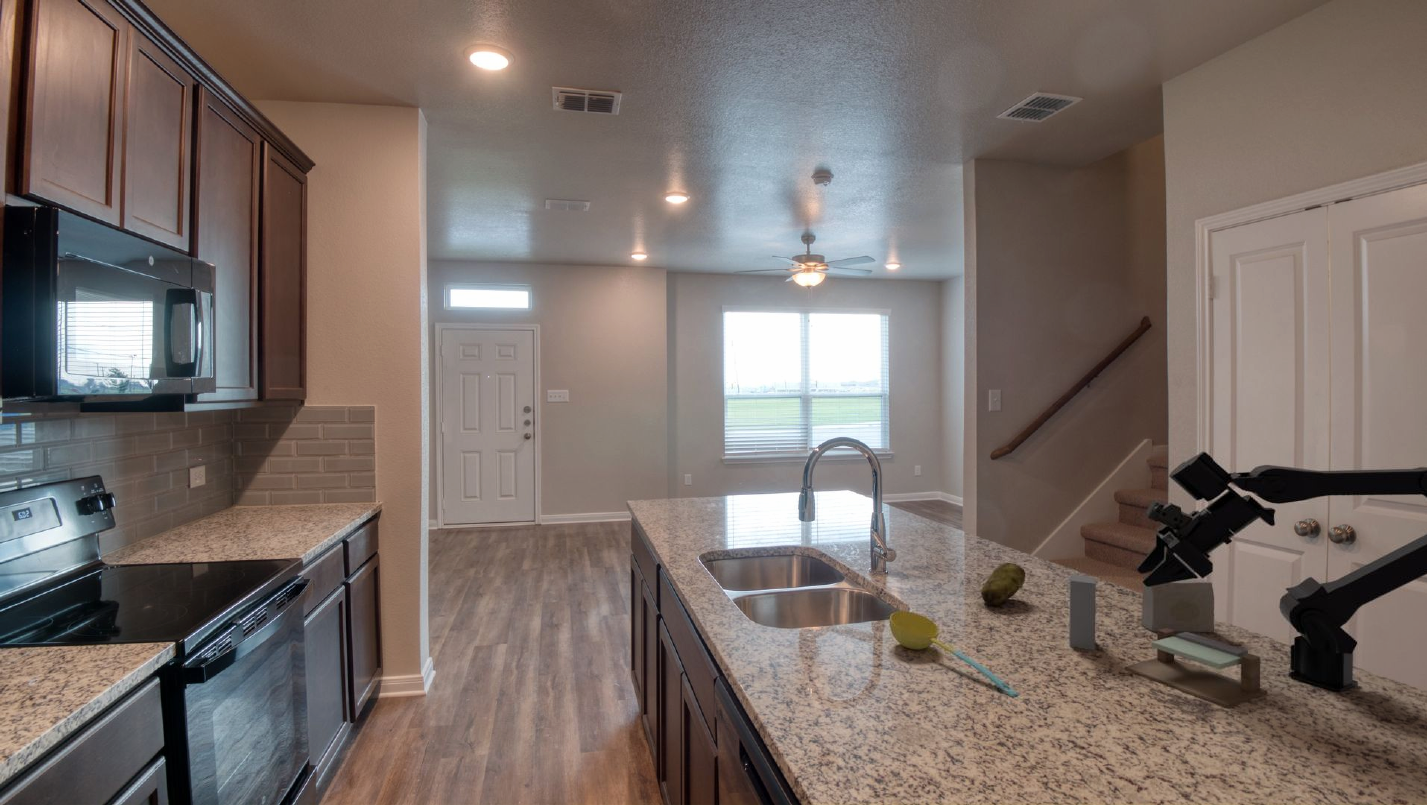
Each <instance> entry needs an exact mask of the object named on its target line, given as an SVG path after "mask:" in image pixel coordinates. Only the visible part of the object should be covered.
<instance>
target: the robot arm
mask: <svg viewBox="0 0 1427 805" xmlns="http://www.w3.org/2000/svg"><path fill="white" fill-rule="evenodd" d="M1168 477H1169V478H1170V479H1171V480H1172V481H1173V482H1174V483H1176V484H1177V485H1178V486H1179V487H1180V488H1182V490H1184V492H1186V493H1187V494H1188V495H1189V496H1191V498H1193V499H1194V500H1195V501H1196V502H1197V501H1201V500H1204V501H1206V502H1211V501H1212V500H1214V501H1213V502H1211V503H1210V504H1208V505H1207V506H1206V507H1205V508H1203V509H1201V510H1200V511H1199V510H1193V511H1191V512H1190V513H1186V512H1183V511H1182V508H1181V507H1180V506H1179V505H1176V504H1174V503H1172V502H1168V503H1167V504H1166V503H1165V502H1162V501H1160V500H1158V499H1155V498H1153V500H1152V501H1151V503H1150V505H1149V507H1148V508H1147V509H1146V512H1145V513H1144V514H1145V515H1146V518H1148V519H1150V520H1152V521H1154V522H1158V523H1161V525H1159V526H1158V527H1156V529H1155V530H1156V532H1154V546H1153V548H1152V549H1151V550H1150V551H1149V553H1148V554H1147V555H1146V556H1145V558H1144V559H1143V560H1142V561H1141V562H1140V563H1139V566H1137V567H1136V572H1138V573H1139V574H1142V575H1143V574H1146V573H1147V574H1148V573H1149V572H1150V573H1149V574H1148V575H1147V576H1146V577H1145V578H1143V580H1142V584H1143V585H1144V584H1145V585H1146V586H1147V587H1150V586H1155V585H1160V584H1165V583H1170V582H1176V581H1182V580H1198V579H1199V578H1202V579H1204V578H1206V577H1207V576H1208V575H1210V574H1212V573H1213V571H1214V563H1213V562H1212V561H1211V560H1210V559H1209V558H1211V555H1209V554H1210V553H1212V552H1213V551H1215V550H1216V549H1217V548H1219V547H1220V546H1221V545H1223V544H1226V546H1227V545H1229V544H1231V543H1232V542H1233V540H1232V538H1233V537H1234V536H1235V535H1237V534H1239V533H1240V532H1241V531H1242V530H1245V528H1246V527H1249V525H1251V524H1253V523H1254V522H1255V521H1257V520H1258V519H1260V520H1261V521H1263V522H1264V523H1265V524H1267V525H1269V526H1270V527H1274V526H1275V525H1276V521H1275V513H1276V509H1275V508H1273V507H1266V506H1263V505H1262V504H1261V503H1259V501H1258V500H1256V499H1255V498H1254V497H1253V496H1251V495H1250V494H1247V495H1243V496H1242V495H1240V494H1239V493H1238V492H1237V491H1235V490H1234V489H1233V488H1232V487H1231V486H1230V485H1229V484H1231V485H1233V486H1235V487H1236V488H1238V489H1240V490H1242V491H1243V492H1244V491H1245V492H1248V493H1252V494H1253V495H1254V496H1256V497H1258V498H1260V499H1261V500H1263V501H1265V502H1266V503H1267V502H1268V503H1271V504H1277V505H1279V504H1280V505H1281V504H1282V505H1283V504H1287V503H1288V504H1290V503H1295V502H1303V501H1307V500H1312V499H1316V498H1320V497H1321V498H1322V497H1329V496H1405V495H1406V496H1414V495H1415V496H1416V495H1417V496H1419V495H1422V496H1423V497H1425V498H1426V499H1427V467H1426V466H1420V467H1419V466H1418V467H1416V468H1400V469H1399V468H1397V469H1395V468H1392V469H1385V468H1384V469H1352V470H1350V469H1349V470H1344V469H1343V470H1313V469H1306V468H1299V467H1290V466H1280V465H1270V464H1264V465H1258V466H1255V467H1254V468H1253V469H1252V470H1251V471H1244V472H1240V471H1239V472H1235V471H1234V472H1228V471H1227V470H1226V469H1224V468H1223V467H1222V466H1221V465H1219V464H1218V463H1217V461H1215V459H1213V457H1212V456H1211V455H1209V454H1208V453H1207V451H1201V452H1199V453H1198V454H1197V455H1195V456H1193V457H1191V458H1189V459H1187V460H1186V461H1183V462H1181V463H1180V464H1179V465H1178V466H1176V467H1175V468H1174V469H1173V470H1172V471H1171V472H1170V473H1169V475H1168ZM1225 491H1226V492H1225ZM1224 492H1225V493H1224ZM1219 496H1220V497H1219ZM1215 499H1216V500H1215ZM1158 533H1159V534H1158ZM1426 575H1427V533H1426V534H1425V535H1422V536H1420V537H1418V538H1417V539H1415V540H1413V541H1410V542H1408V543H1407V544H1404V545H1402V546H1400V547H1398V548H1397V549H1394V550H1393V551H1391V552H1389V553H1387V554H1384V555H1383V556H1381V557H1379V558H1377V559H1375V560H1373V561H1371V562H1369V563H1367V564H1365V565H1363V566H1361V567H1359V568H1357V569H1356V570H1354V571H1353V570H1352V571H1351V572H1350V573H1347V574H1345V575H1344V576H1341V577H1340V578H1338V579H1336V580H1333V581H1328V582H1327V581H1326V582H1322V583H1320V582H1318V580H1316V579H1315V578H1314V577H1311V576H1309V577H1307V578H1305V579H1304V580H1303V581H1302V582H1300V583H1299V584H1297V585H1295V586H1291V587H1286V588H1285V590H1286V591H1287V592H1286V593H1285V594H1284V595H1282V597H1281V598H1280V599H1279V606H1278V607H1279V611H1280V613H1281V615H1282V616H1283V617H1284V619H1285V620H1286V621H1287V622H1288V624H1290V625H1291V627H1293V628H1294V629H1295V630H1296V632H1297V633H1298V634H1300V635H1297V636H1295V637H1294V638H1293V639H1294V642H1293V644H1291V645H1290V655H1289V656H1290V657H1289V658H1290V661H1289V662H1290V663H1289V664H1290V665H1289V666H1290V670H1291V671H1290V672H1289V673H1288V675H1287V676H1288V677H1290V678H1292V679H1296V680H1300V681H1302V682H1304V683H1305V682H1306V683H1309V684H1311V685H1315V686H1317V687H1321V688H1323V689H1327V690H1330V691H1332V692H1337V693H1338V692H1339V693H1340V692H1341V693H1342V692H1344V691H1346V690H1348V689H1351V688H1354V687H1357V686H1358V684H1359V682H1358V681H1357V680H1354V679H1353V677H1354V674H1353V672H1354V671H1353V670H1354V669H1353V668H1354V667H1353V666H1354V664H1353V663H1354V651H1355V650H1356V647H1357V645H1358V641H1357V640H1356V639H1354V637H1353V636H1352V635H1351V634H1349V633H1348V632H1347V631H1346V630H1345V629H1343V628H1342V627H1343V626H1344V625H1346V624H1347V623H1348V622H1349V621H1350V620H1351V619H1352V617H1353V616H1354V615H1355V613H1357V611H1359V609H1360V608H1361V607H1363V606H1364V605H1366V604H1369V603H1370V602H1372V601H1375V600H1377V599H1378V598H1381V597H1383V596H1385V595H1387V594H1388V593H1391V592H1393V591H1395V590H1397V589H1399V588H1401V587H1404V586H1405V585H1407V584H1410V583H1412V582H1413V581H1416V580H1418V579H1420V578H1422V577H1424V576H1426Z"/></svg>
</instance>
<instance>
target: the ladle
mask: <svg viewBox="0 0 1427 805" xmlns="http://www.w3.org/2000/svg"><path fill="white" fill-rule="evenodd" d="M889 628H890V630H891V631H890V632H891V634H892V636H893V637H894V638H895V640H896V641H897V642H898V643H899V645H902V646H903V647H905V648H907V649H910V650H916V651H918V650H919V651H921V650H923V649H924V650H925V649H927V648H929V647H931V645H933V644H935V645H937V646H938V647H941V648H942V649H944V650H945V651H947V652H949V653H951V654H952V655H953V656H956V657H957V658H958V659H960V660H962V661H963V662H965V663H967V664H968V665H969V666H971V667H972V668H974V669H975V670H977V671H978V672H980V673H981V674H982V675H984V676H985V677H986V678H988V679H989V680H990V681H991V682H993V683H994V684H995V685H996V686H997V687H999V688H1000V689H1001V690H1002V691H1004V693H1006V694H1007V695H1008V696H1009V697H1011V698H1014V697H1016V696H1017V697H1018V695H1019V694H1018V693H1017V692H1016V691H1015V690H1014V689H1012V688H1011V687H1010V686H1009V685H1008V684H1007V683H1006V682H1004V681H1003V680H1001V679H1000V678H999V677H998V676H996V674H994V673H993V672H991V671H990V670H989V669H987V668H985V667H984V666H982V664H980V663H978V662H977V661H975V660H973V659H972V658H970V657H968V656H967V655H965V654H963V653H961V652H959V651H958V650H956V649H955V648H952V647H951V646H949V645H947V644H945V643H944V642H941V641H940V640H938V636H939V635H940V628H939V626H938V625H937V624H936V623H935V622H934V621H933V620H932V619H930V618H928V617H926V616H924V615H922V614H921V613H920V614H919V613H916V612H913V611H906V610H902V611H900V610H899V611H894V612H893V613H891V614H890V616H889Z"/></svg>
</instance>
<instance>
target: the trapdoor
mask: <svg viewBox="0 0 1427 805" xmlns="http://www.w3.org/2000/svg"><path fill="white" fill-rule="evenodd" d="M1151 648H1154V649H1156V650H1157V649H1160V650H1163V651H1165V652H1168V653H1171V654H1174V656H1178V657H1181V658H1183V659H1186V660H1189V661H1191V662H1192V661H1193V662H1196V663H1198V664H1202V665H1204V666H1208V667H1211V668H1214V669H1216V670H1223V669H1226V668H1230V667H1232V666H1236V665H1237V666H1239V665H1241V656H1244V655H1247V654H1249V650H1248V649H1244V648H1241V647H1238V646H1235V645H1231V644H1228V643H1226V642H1222V641H1218V640H1214V639H1212V638H1210V637H1209V638H1208V637H1205V636H1202V635H1199V634H1195V633H1193V632H1179V633H1177V634H1176V636H1175V637H1174V636H1173V637H1169V638H1165V639H1161V640H1154V641H1151Z"/></svg>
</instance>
